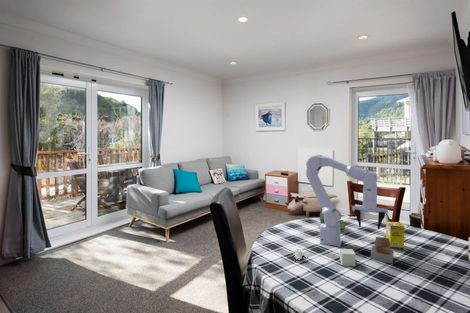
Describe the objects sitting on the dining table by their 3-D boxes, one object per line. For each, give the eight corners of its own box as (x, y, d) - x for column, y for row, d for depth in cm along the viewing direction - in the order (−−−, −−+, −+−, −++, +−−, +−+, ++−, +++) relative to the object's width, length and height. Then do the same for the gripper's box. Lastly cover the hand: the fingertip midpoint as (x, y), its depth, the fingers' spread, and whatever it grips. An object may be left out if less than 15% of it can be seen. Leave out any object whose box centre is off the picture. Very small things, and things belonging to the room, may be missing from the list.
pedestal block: (370, 260, 115) (370, 252, 114) (372, 253, 121) (372, 245, 121) (392, 264, 110) (392, 256, 110) (393, 257, 117) (393, 249, 117)
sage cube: (342, 265, 110) (342, 253, 109) (339, 260, 115) (339, 248, 114) (355, 266, 109) (355, 254, 108) (352, 260, 114) (352, 249, 113)
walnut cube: (376, 252, 114) (376, 241, 114) (375, 247, 119) (375, 236, 118) (390, 254, 112) (390, 242, 112) (388, 249, 117) (388, 238, 116)
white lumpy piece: (296, 253, 122) (296, 244, 122) (312, 259, 117) (312, 249, 116) (285, 259, 116) (285, 250, 116) (301, 266, 110) (301, 256, 110)
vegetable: (344, 230, 143) (318, 215, 149) (337, 240, 153) (313, 225, 159) (352, 214, 149) (327, 200, 155) (345, 224, 159) (321, 210, 165)
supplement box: (404, 249, 124) (404, 226, 123) (390, 248, 125) (390, 225, 124) (399, 244, 130) (399, 222, 129) (385, 243, 131) (386, 221, 130)
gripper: (351, 198, 122) (351, 228, 123) (388, 201, 116) (387, 232, 117) (352, 195, 128) (352, 223, 129) (387, 198, 122) (386, 227, 123)
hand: (369, 227), depth 124 cm, fingers open, 7 cm apart
